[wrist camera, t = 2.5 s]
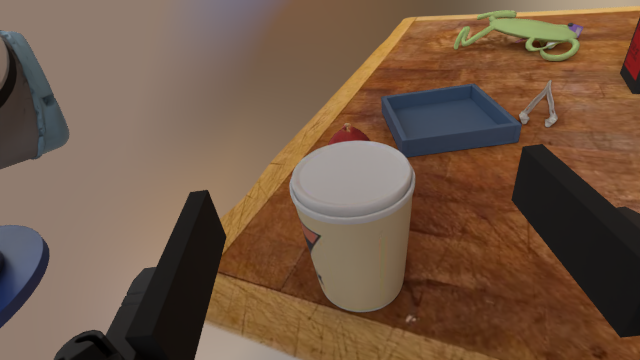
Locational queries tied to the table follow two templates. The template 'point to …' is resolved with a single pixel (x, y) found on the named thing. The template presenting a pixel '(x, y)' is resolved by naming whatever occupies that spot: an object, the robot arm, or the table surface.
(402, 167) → the coffee cup
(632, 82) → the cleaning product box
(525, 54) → the table surface
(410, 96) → the dish tray
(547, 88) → the tweezers
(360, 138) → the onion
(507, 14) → the figurine
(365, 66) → the table surface
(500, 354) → the table surface
